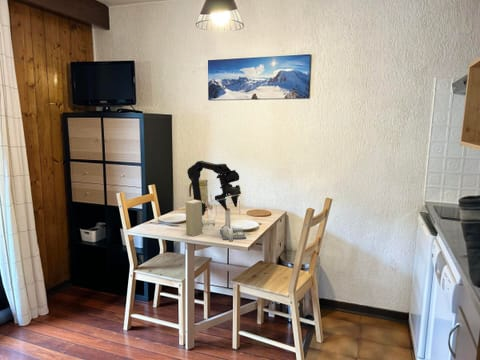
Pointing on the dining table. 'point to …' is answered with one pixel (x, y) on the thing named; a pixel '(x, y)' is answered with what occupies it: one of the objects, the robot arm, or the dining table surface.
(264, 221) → the dining table surface
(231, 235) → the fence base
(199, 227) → the toy refrigerator
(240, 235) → the board
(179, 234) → the dining table surface
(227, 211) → the fence post
